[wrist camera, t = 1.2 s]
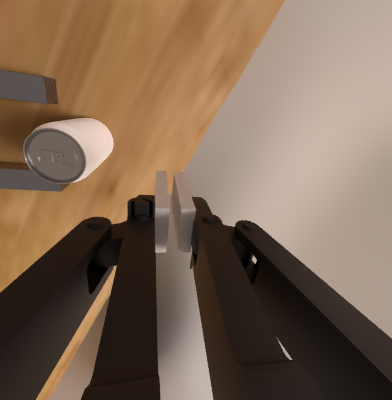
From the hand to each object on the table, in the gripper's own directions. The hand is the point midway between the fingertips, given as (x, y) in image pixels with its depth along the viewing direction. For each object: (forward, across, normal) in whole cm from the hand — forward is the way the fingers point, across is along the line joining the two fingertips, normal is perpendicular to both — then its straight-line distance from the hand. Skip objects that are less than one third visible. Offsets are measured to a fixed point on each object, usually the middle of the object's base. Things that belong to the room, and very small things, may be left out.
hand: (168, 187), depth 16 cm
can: (+19, -11, 0) cm, 22 cm away
